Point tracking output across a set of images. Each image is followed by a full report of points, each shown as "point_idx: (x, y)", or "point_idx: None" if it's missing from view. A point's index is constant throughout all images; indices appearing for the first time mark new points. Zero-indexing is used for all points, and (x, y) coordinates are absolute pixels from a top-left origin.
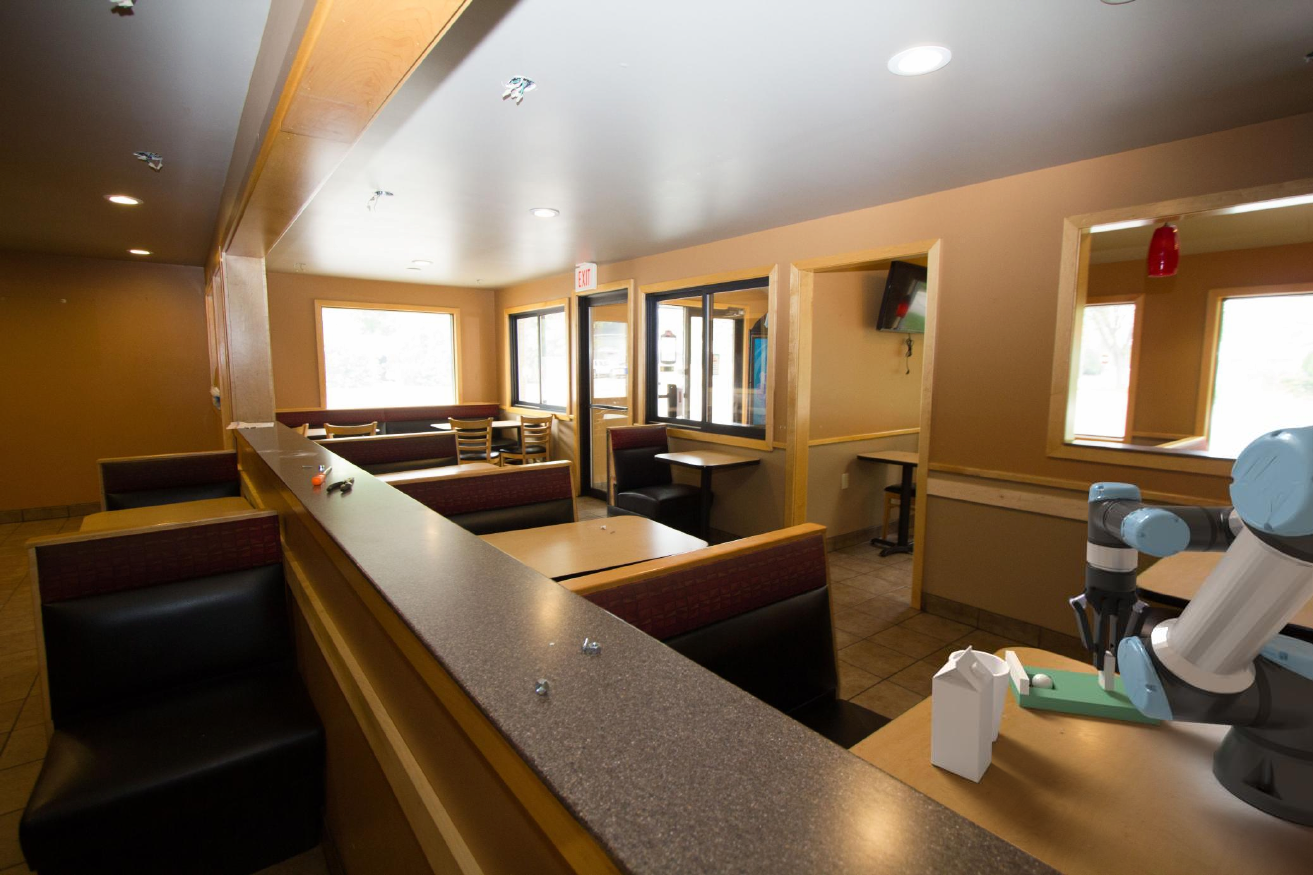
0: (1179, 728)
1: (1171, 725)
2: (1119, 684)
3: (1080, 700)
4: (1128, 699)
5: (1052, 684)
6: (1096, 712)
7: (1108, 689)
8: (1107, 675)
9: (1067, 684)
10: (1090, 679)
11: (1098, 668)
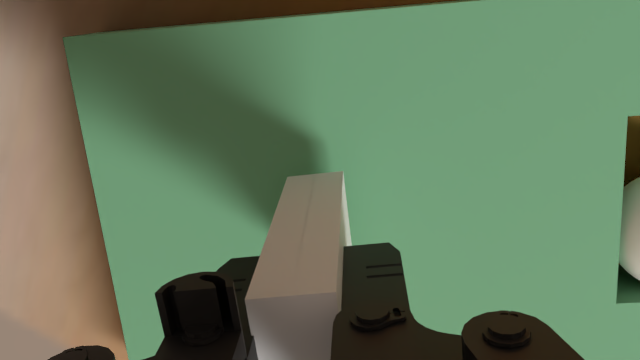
0: (16, 31)
1: (48, 51)
2: None
3: (524, 14)
4: (215, 140)
5: (627, 211)
6: (419, 4)
7: (318, 176)
8: (322, 212)
9: (539, 223)
10: None
11: (384, 252)
